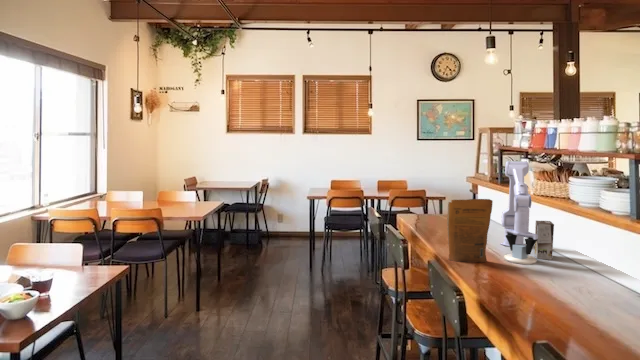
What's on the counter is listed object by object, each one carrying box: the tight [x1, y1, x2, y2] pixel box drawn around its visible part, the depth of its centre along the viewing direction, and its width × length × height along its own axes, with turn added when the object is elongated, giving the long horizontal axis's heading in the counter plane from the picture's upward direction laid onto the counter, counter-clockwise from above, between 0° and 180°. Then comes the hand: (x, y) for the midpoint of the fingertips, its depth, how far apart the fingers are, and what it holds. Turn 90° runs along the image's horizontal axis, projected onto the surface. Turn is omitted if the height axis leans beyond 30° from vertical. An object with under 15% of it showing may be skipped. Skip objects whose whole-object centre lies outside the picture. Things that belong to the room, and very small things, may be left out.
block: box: [511, 244, 528, 259], centre depth 187 cm, size 4×4×6 cm
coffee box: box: [533, 220, 555, 261], centre depth 192 cm, size 9×6×16 cm
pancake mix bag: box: [446, 198, 494, 263], centre depth 185 cm, size 7×19×28 cm, turn 81°
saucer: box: [503, 253, 537, 265], centre depth 187 cm, size 13×13×1 cm
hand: (520, 252), depth 187 cm, fingers open, 7 cm apart
